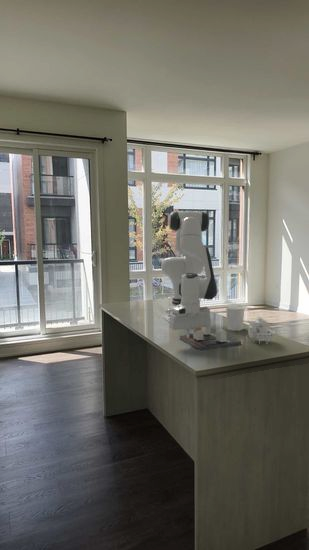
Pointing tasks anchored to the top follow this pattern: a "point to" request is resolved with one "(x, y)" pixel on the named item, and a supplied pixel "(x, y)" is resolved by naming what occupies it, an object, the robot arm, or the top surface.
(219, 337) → the breaker right
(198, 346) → the panel
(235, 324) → the candle holder
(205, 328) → the breaker left
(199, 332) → the breaker mid
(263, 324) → the mechanical part
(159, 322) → the top surface
